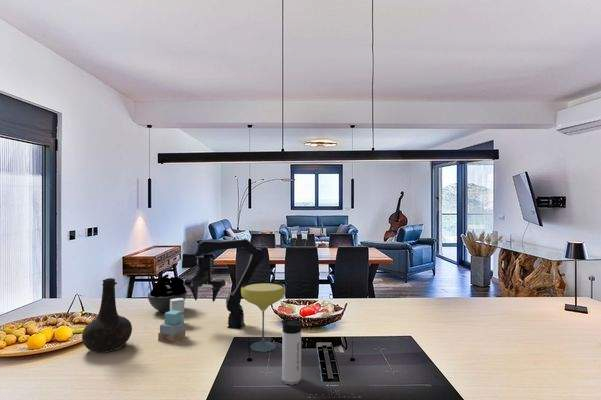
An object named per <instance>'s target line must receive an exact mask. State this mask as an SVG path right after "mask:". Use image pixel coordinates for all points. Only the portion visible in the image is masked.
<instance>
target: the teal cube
mask: <svg viewBox="0 0 601 400" xmlns="http://www.w3.org/2000/svg"><path fill="white" fill-rule="evenodd" d="M181 321H182V311H175V310H171V311H169V312H164V323H165V324H170V325H175V324H177V323H179V322H181Z"/></svg>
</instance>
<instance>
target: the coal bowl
mask: <svg viewBox="0 0 601 400" xmlns="http://www.w3.org/2000/svg"><path fill="white" fill-rule="evenodd" d="M169 275H170V274H169V273H168V274H164V275H162V277H160V278H158V281H157V282H156V283H155V284H154V286H153V288H152V289H151V290H150V292H148V293H147V299H148V301H149V304H150V306H151V307H152V308H154V310H157V311H159V312H163V313H167V312H169V311H170V299H176V298H183V299H184V302H185V300H186V298H187V295H188V291H187V290H186V286H185V285H184V281H185V280H184V279H182V278H180V277H179V276H173V277H172V276H171V277H169ZM167 285H168V286H169V287H168V286H167Z"/></svg>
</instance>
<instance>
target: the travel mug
mask: <svg viewBox="0 0 601 400" xmlns="http://www.w3.org/2000/svg"><path fill="white" fill-rule="evenodd" d="M281 325H282V347H281V348H282V349H281V352H282V356H281V357H282V361H281V363H282V365H281V366H282V368H281V371H282V372H281V373H282V374H281V376H282V377H281V379H282V380H281V381H282V383H283V382H284V384H285V385H287V384H289V385H288V386H295V385H294V384H296V385H298V384H300V383H301V382H300V381H302V323H301V321H299V320H296V319H281ZM299 382H300V383H299Z"/></svg>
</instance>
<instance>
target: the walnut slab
mask: <svg viewBox="0 0 601 400" xmlns="http://www.w3.org/2000/svg"><path fill="white" fill-rule="evenodd" d="M157 335H158V336H157V338H158V340H157V341H159V342H167V343H177V342H178V341H180V340H182V339H183V338H185V337H186V328H184V330H182V331H181V332H179V333H177V334H175V335H169V334H162V333H160V332H158V333H157Z"/></svg>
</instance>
